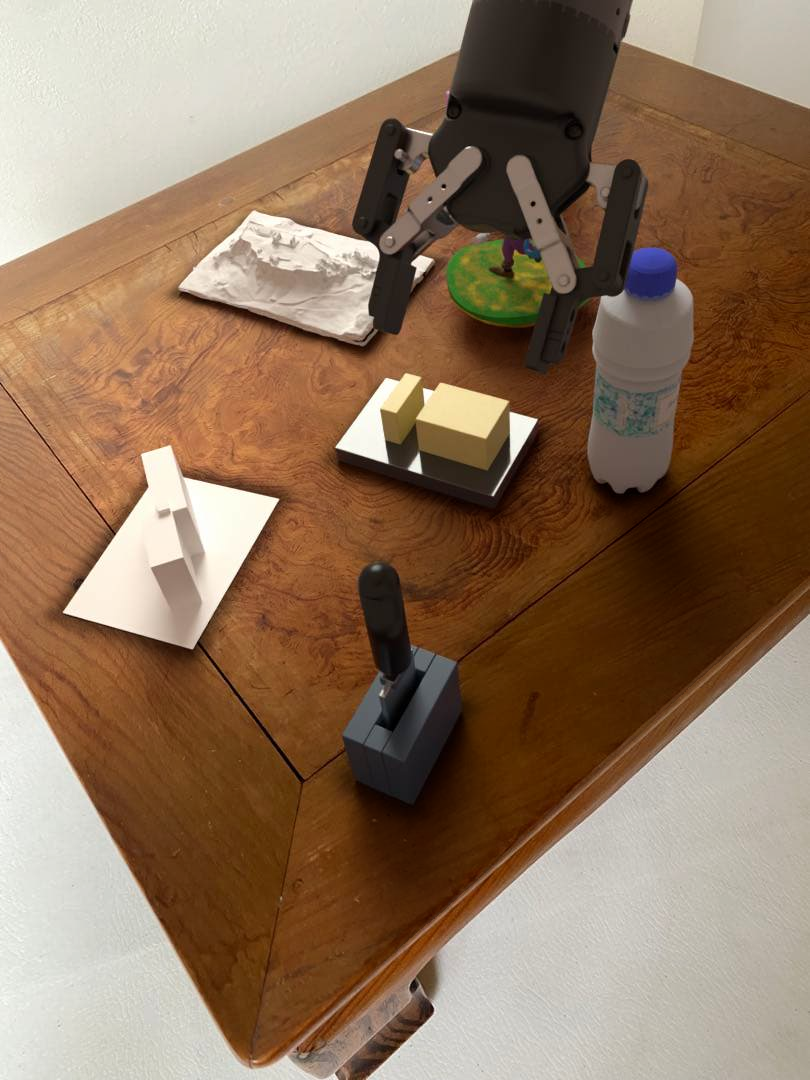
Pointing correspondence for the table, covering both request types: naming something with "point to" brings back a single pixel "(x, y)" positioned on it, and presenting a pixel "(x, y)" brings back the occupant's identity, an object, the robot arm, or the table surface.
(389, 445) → the board
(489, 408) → the butter block
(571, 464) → the table surface
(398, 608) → the knife
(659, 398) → the bottle
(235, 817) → the table surface
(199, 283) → the terrain model
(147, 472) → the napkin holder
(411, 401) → the butter pat
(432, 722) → the knife stand
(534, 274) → the figurine
